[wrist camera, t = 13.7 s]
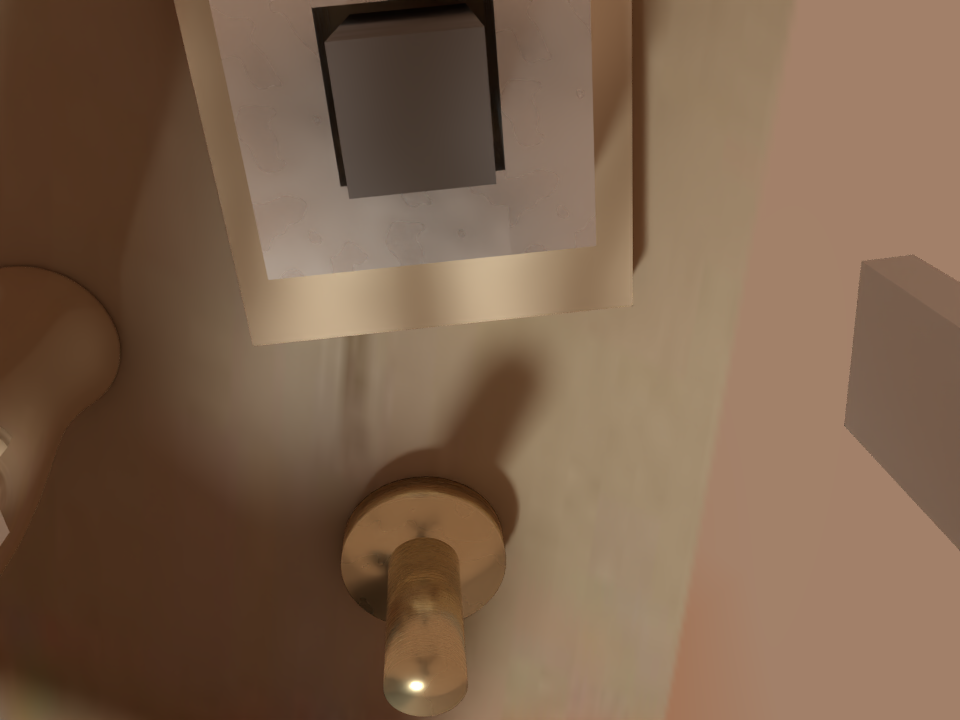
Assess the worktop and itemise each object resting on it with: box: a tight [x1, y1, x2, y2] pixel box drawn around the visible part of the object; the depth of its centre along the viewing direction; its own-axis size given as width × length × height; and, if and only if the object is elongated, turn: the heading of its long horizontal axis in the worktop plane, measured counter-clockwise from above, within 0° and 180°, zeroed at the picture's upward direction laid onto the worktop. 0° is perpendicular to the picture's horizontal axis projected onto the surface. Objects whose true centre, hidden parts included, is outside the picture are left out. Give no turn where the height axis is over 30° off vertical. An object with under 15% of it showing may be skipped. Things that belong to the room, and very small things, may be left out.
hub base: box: [174, 0, 633, 346], centre depth 24 cm, size 14×18×10 cm
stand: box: [341, 477, 506, 717], centre depth 34 cm, size 7×7×8 cm
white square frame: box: [209, 0, 596, 280], centre depth 25 cm, size 10×10×4 cm
